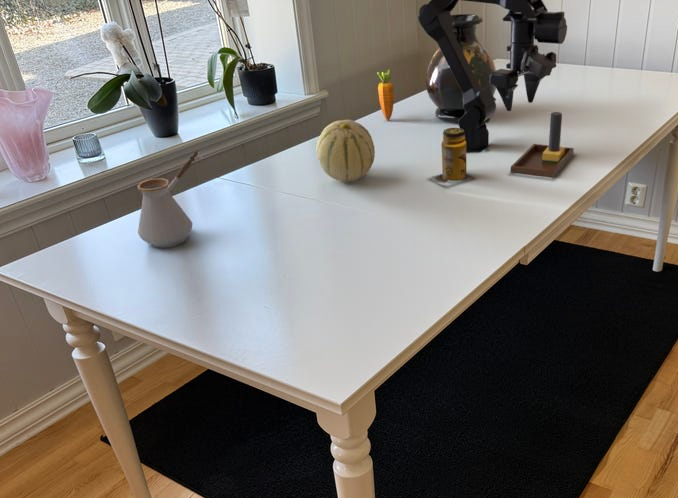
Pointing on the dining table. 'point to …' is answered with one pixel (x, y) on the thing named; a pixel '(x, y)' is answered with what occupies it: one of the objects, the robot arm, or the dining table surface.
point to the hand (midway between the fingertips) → (519, 106)
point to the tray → (539, 162)
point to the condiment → (452, 156)
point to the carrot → (386, 94)
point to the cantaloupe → (345, 150)
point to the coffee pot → (163, 212)
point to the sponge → (554, 140)
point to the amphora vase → (442, 79)
